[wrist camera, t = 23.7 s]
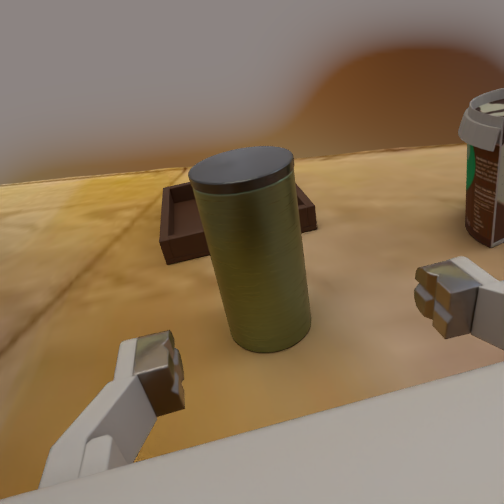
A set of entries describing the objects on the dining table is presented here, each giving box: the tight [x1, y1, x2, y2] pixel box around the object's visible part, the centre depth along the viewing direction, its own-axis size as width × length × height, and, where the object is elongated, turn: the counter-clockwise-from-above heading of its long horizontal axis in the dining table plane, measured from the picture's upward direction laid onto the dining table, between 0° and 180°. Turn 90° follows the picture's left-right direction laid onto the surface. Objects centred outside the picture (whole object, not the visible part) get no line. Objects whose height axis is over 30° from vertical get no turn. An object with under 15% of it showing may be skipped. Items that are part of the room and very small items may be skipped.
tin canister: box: [188, 146, 311, 353], centre depth 23 cm, size 6×6×11 cm
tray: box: [159, 182, 317, 265], centre depth 41 cm, size 15×15×2 cm
